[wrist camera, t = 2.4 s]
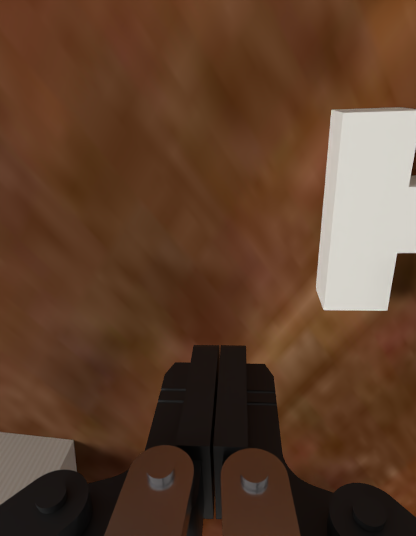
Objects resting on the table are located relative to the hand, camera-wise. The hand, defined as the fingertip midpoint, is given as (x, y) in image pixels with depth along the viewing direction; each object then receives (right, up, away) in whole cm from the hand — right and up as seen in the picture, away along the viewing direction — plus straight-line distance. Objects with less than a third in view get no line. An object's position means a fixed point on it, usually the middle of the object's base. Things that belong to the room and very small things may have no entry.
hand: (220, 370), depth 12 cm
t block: (+13, +7, +14) cm, 20 cm away
